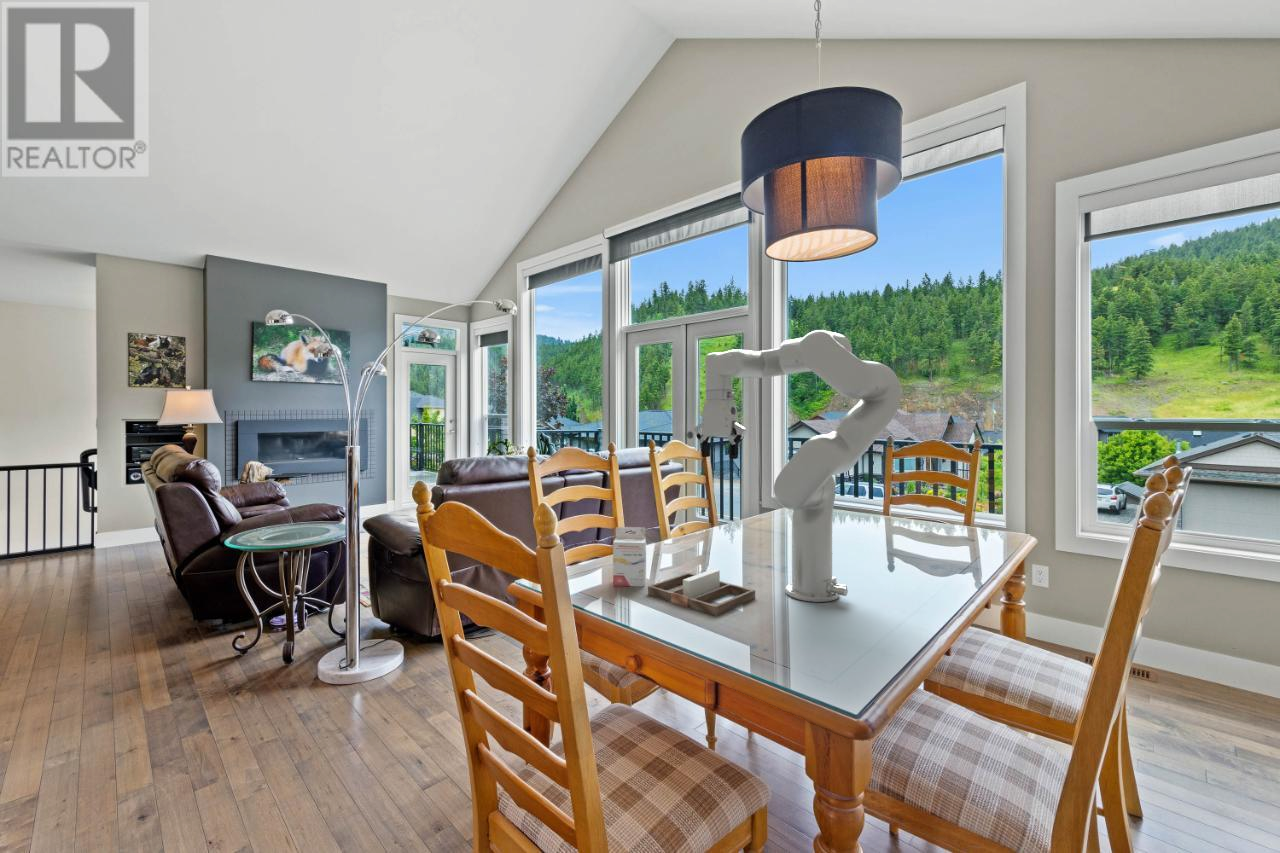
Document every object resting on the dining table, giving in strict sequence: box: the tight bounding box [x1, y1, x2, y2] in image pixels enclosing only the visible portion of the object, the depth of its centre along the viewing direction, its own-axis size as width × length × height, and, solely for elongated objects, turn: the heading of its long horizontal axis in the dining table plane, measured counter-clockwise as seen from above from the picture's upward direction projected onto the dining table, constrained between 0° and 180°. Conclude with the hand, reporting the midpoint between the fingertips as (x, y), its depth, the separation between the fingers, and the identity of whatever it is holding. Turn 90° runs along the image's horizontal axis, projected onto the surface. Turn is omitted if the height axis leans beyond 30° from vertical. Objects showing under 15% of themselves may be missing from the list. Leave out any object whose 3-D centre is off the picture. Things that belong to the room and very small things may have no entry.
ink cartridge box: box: [612, 526, 647, 587], centre depth 146 cm, size 9×5×15 cm, turn 84°
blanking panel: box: [682, 568, 721, 598], centre depth 136 cm, size 2×12×5 cm, turn 135°
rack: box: [647, 572, 756, 617], centre depth 135 cm, size 21×16×2 cm
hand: (719, 457), depth 155 cm, fingers open, 9 cm apart
